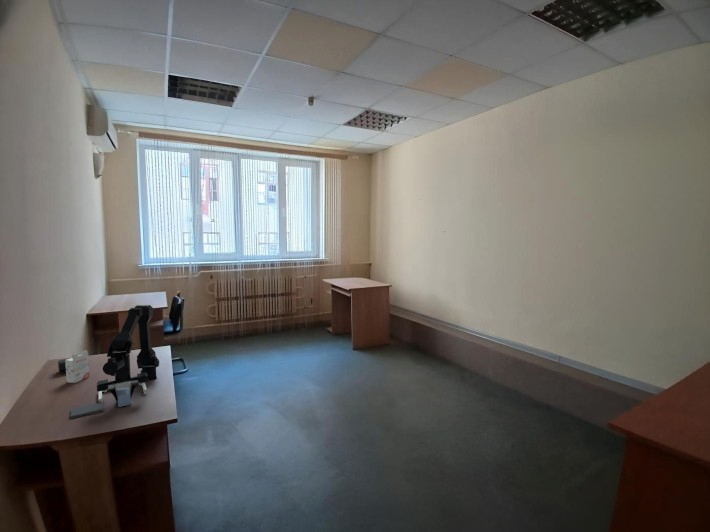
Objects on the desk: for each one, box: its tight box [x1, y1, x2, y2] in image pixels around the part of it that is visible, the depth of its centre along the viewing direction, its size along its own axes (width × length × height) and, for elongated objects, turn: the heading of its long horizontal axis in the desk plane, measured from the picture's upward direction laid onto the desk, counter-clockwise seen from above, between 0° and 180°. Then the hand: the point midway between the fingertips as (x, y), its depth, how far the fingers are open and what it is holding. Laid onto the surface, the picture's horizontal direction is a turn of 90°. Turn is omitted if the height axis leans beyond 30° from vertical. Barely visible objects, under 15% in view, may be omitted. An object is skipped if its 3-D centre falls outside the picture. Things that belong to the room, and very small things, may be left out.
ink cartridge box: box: [65, 349, 91, 384], centre depth 180 cm, size 9×5×15 cm, turn 168°
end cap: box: [57, 358, 67, 374], centre depth 191 cm, size 10×7×7 cm
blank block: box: [116, 387, 132, 408], centre depth 156 cm, size 4×8×5 cm, turn 37°
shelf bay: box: [98, 382, 148, 403], centre depth 166 cm, size 18×14×2 cm
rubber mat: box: [70, 401, 105, 420], centre depth 149 cm, size 11×8×1 cm
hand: (123, 400), depth 156 cm, fingers closed on blank block, 4 cm apart
